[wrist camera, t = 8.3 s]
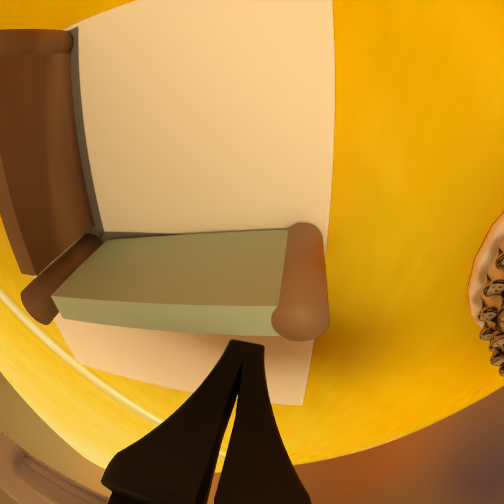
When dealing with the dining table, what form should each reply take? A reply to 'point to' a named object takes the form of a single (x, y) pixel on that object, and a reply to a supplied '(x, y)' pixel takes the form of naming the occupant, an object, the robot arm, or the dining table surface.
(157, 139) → the card
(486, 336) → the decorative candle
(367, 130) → the dining table surface
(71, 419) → the dining table surface
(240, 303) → the fence gate
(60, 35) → the base
